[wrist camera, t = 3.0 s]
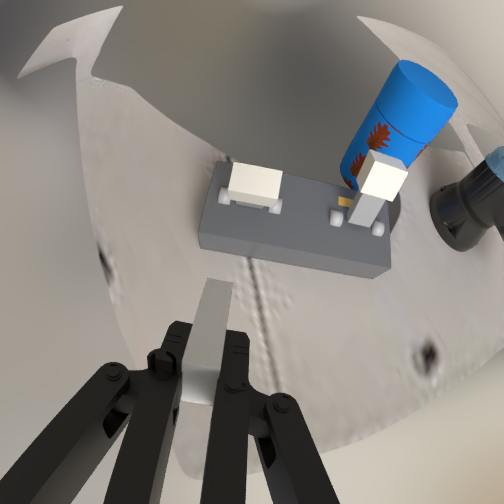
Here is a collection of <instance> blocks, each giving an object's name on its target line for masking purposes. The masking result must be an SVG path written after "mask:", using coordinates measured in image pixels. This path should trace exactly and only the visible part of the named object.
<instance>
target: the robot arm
mask: <svg viewBox="0 0 504 504" xmlns="http://www.w3.org/2000/svg"><path fill="white" fill-rule="evenodd" d="M430 210H431V216H432V219H433V222H434V224H435V227H436V229H437V231H438V232H439V234H440V236H441V237H442V238H443V240H444V241H445V242H446V243H447V244H448V245H449V246H450V247H452V248H453V249H455V250H457V251H460V252H465V251H467V250H469V249H471V248H473V247H474V246H475V245H476V244H477V243H478V241H479V240H480V239H481V238H482V236H483V235H484V234H485V232H486V231H487V230H488V229H489V228H490V227H492V226H494V225H495V226H496V228H497V229H498V231H499V233H500V235H501V237H502V239H503V241H504V146H500V147H498V148H497V149H495V150H494V151H493V152H492V153H491V154H488V155H487V156H486V157H485V160H483V161H482V162H481V163H480V164H479V165H478V166H477V167H476V168H475V169H473V170H472V171H471V172H470V173H469V174H468V175H467V176H465V177H464V178H463V179H462V180H461V181H459V182H456V183H453V184H450V185H446V186H443V187H441V188H440V189H438V190H437V191H436V192H435V193H434V194H433V196H432V198H431V201H430ZM232 287H233V283H232V282H227V281H221V280H215V279H210V278H207V280H206V283H205V287H204V290H203V293H202V296H201V299H200V303H199V306H198V309H197V312H196V316H195V319H194V322H193V324H190V323H185V322H180V321H175V322H173V323H172V324H171V325H170V326H169V328H168V330H167V333H166V335H165V338H164V341H163V343H162V345H161V348H159V349H155V350H153V351H151V352H150V353H149V354H148V356H147V361H148V369H144V370H133V371H132V370H131V371H130V370H128V369H127V368H126V367H125V366H124V365H123V364H120V363H117V362H110V363H106V364H104V365H103V366H101V367H100V368H99V369H98V371H97V372H96V373H95V374H94V375H93V376H92V377H91V378H90V379H89V380H88V381H87V382H86V383H85V385H84V386H83V387H82V388H81V389H80V390H79V391H78V392H77V393H76V395H74V397H73V398H72V399H71V400H70V401H69V402H68V403H67V404H66V405H65V406H64V407H63V409H62V410H61V411H60V412H59V413H58V414H57V415H56V417H54V419H53V420H52V421H51V422H50V423H49V424H48V425H47V426H46V428H45V429H44V430H43V431H42V432H41V433H40V435H39V436H38V437H37V438H36V439H35V440H34V441H33V442H32V444H31V445H30V446H29V447H28V448H27V449H26V451H25V452H24V453H23V454H22V455H21V456H20V458H19V459H18V460H17V461H16V462H15V463H14V465H13V466H12V467H11V468H10V470H9V471H8V472H7V473H6V474H5V475H4V477H3V478H2V479H1V480H0V504H71V502H72V501H73V500H74V498H75V497H76V495H77V494H78V493H79V491H80V490H81V488H82V487H83V485H84V484H85V483H86V481H87V480H88V478H89V477H90V475H91V474H92V473H93V471H94V470H95V468H96V467H97V465H98V464H99V463H100V462H101V460H102V459H103V457H104V456H105V455H106V453H107V452H108V450H109V449H110V448H111V446H112V445H113V443H114V442H115V441H116V439H117V438H118V436H119V435H120V433H121V432H122V431H123V429H124V428H125V427H126V425H127V424H128V427H127V430H126V432H125V435H124V438H123V441H122V445H121V447H120V450H119V453H118V456H117V459H116V463H115V466H114V469H113V472H112V475H111V479H110V482H109V486H108V489H107V492H106V496H105V500H104V503H103V504H159V503H160V497H161V492H162V488H163V483H164V478H165V473H166V468H167V463H168V458H169V454H170V449H171V445H172V440H173V436H174V431H175V427H176V422H177V418H178V414H179V403H180V399H181V400H183V401H188V402H193V403H198V404H204V405H210V406H213V412H212V418H211V425H210V432H209V439H208V446H207V453H206V461H205V468H204V476H203V483H202V491H201V499H200V504H245V500H246V475H247V450H248V434H250V435H252V436H254V440H255V443H256V447H257V450H258V454H259V457H260V461H261V464H262V468H263V471H264V475H265V478H266V481H267V485H268V488H269V491H270V495H271V498H272V501H273V504H340V503H339V500H338V498H337V496H336V493H335V491H334V489H333V486H332V484H331V482H330V479H329V477H328V475H327V472H326V470H325V468H324V465H323V463H322V460H321V458H320V456H319V453H318V451H317V449H316V446H315V444H314V441H313V439H312V437H311V434H310V432H309V429H308V427H307V424H306V422H305V420H304V417H303V415H302V412H301V410H300V407H299V405H298V403H297V401H296V400H295V399H294V398H293V397H292V396H290V395H288V394H285V393H275V394H272V395H271V396H268V395H265V394H263V393H260V392H258V391H256V390H255V389H254V388H253V387H252V386H251V385H250V383H249V379H248V372H249V346H250V340H249V338H248V336H247V334H246V333H245V332H239V331H233V330H227V329H226V327H227V321H228V314H229V307H230V301H231V294H232ZM128 422H129V423H128Z"/></svg>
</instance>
